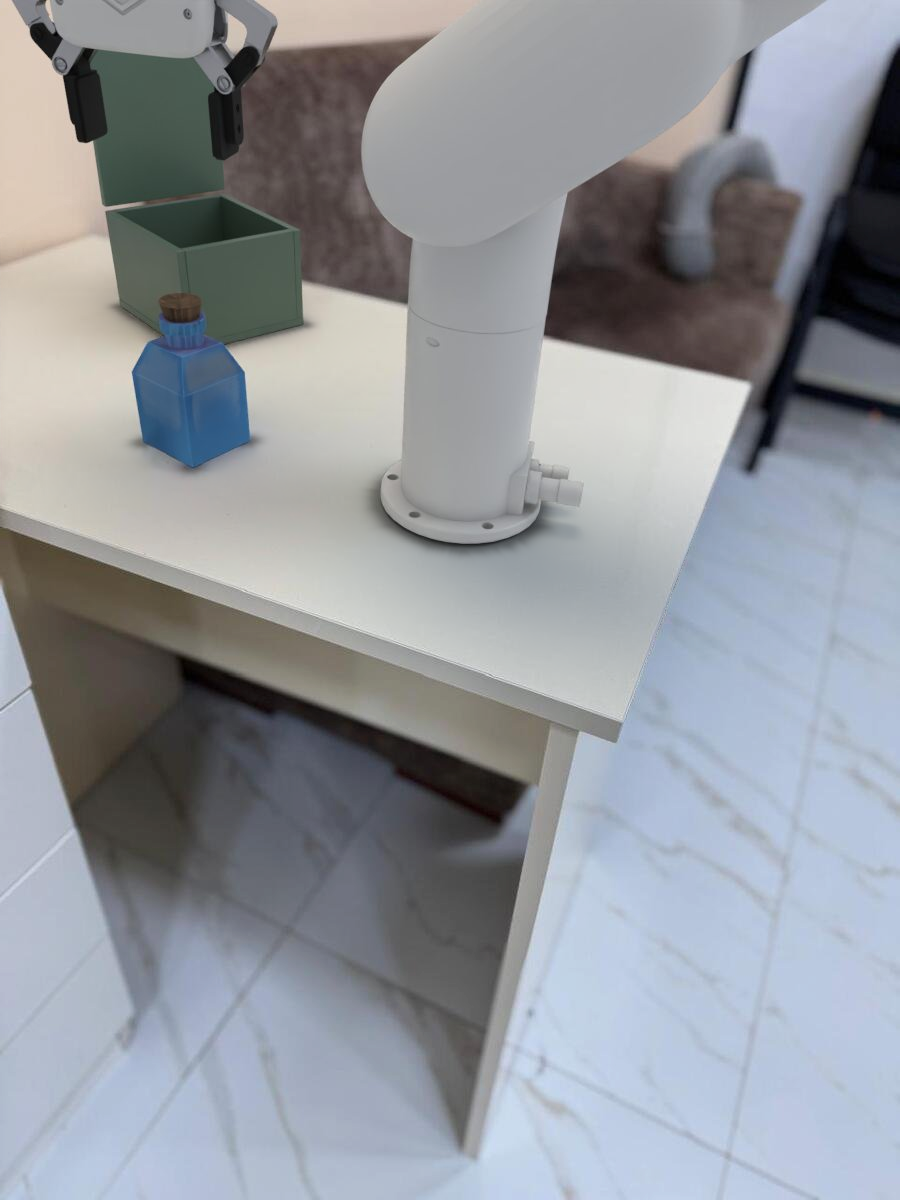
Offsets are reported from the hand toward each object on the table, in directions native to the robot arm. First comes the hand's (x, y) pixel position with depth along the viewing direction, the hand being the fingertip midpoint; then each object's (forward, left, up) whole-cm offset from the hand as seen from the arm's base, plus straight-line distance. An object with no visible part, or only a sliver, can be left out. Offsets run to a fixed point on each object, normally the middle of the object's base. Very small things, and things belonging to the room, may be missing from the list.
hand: (159, 147), depth 62 cm
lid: (+14, -30, -5) cm, 33 cm away
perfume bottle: (0, 0, -23) cm, 23 cm away
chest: (+9, -26, -23) cm, 35 cm away
